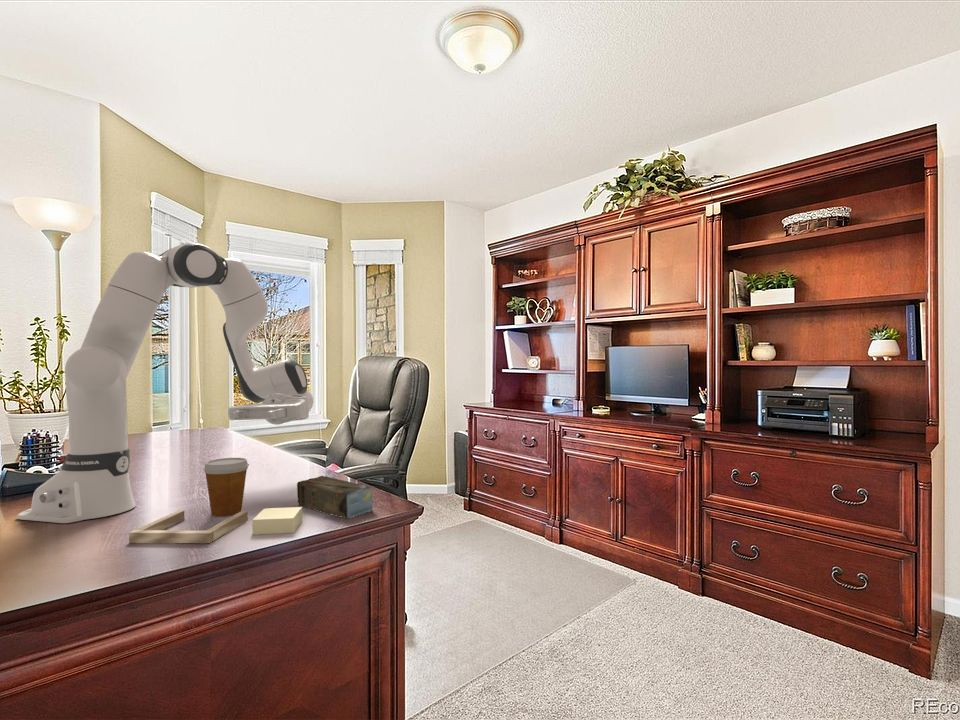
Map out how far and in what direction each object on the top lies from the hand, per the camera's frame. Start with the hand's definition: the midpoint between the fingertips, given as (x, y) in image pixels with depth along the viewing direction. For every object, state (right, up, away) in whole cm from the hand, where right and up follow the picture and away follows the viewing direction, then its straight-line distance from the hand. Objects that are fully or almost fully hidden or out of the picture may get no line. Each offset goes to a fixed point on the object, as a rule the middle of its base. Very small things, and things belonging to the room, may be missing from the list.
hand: (253, 415), depth 128 cm
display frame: (-1, -21, -24) cm, 32 cm away
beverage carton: (+23, -22, -9) cm, 33 cm away
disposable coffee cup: (-1, -22, -12) cm, 25 cm away
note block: (+16, -21, -23) cm, 35 cm away
